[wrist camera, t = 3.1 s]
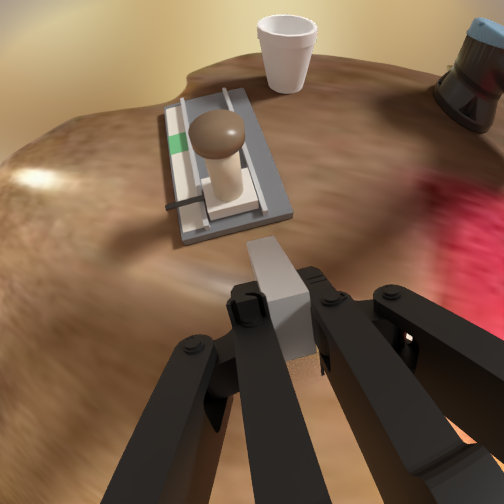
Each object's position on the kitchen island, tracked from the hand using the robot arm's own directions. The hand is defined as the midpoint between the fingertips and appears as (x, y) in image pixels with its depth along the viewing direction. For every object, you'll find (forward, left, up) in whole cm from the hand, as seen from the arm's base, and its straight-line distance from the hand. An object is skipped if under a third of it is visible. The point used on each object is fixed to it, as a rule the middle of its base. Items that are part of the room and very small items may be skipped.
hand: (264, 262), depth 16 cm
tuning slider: (+3, -15, -17) cm, 23 cm away
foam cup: (-15, -38, -19) cm, 45 cm away
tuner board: (0, -25, -19) cm, 31 cm away
